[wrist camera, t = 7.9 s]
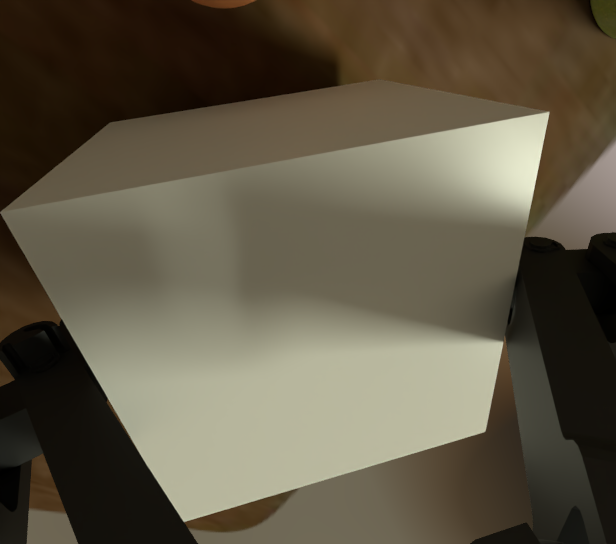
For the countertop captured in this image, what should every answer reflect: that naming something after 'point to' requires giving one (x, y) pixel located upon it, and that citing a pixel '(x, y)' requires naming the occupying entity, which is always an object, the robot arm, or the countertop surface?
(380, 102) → the cream cuboid
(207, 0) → the ball
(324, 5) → the countertop surface
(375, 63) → the countertop surface
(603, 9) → the plant pot
